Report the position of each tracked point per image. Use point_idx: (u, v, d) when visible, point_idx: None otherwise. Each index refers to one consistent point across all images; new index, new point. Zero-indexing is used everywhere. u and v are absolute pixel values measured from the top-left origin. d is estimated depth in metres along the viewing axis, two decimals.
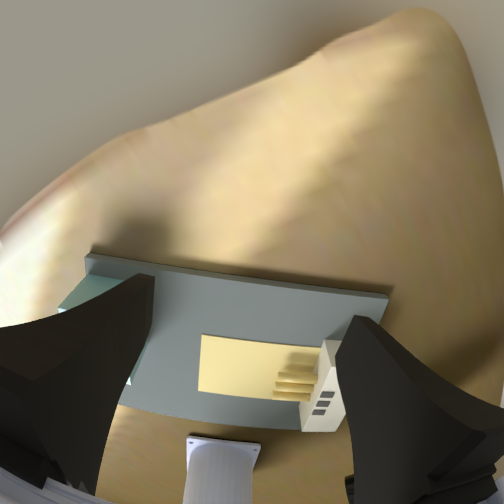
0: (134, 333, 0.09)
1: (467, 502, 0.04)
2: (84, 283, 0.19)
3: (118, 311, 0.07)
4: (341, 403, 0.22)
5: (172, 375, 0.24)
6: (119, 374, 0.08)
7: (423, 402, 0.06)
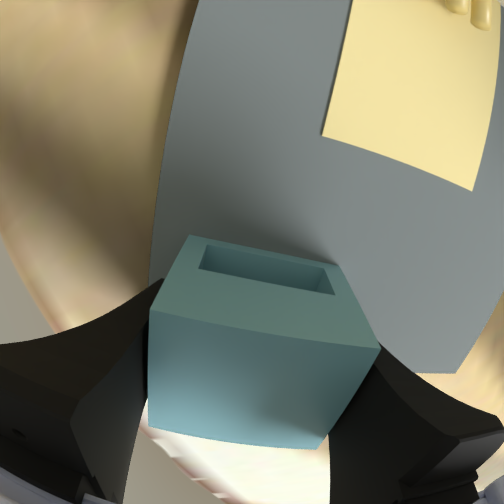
0: None
1: None
2: None
3: (148, 319, 0.07)
4: None
5: (428, 235, 0.11)
6: (145, 381, 0.08)
7: (396, 403, 0.06)
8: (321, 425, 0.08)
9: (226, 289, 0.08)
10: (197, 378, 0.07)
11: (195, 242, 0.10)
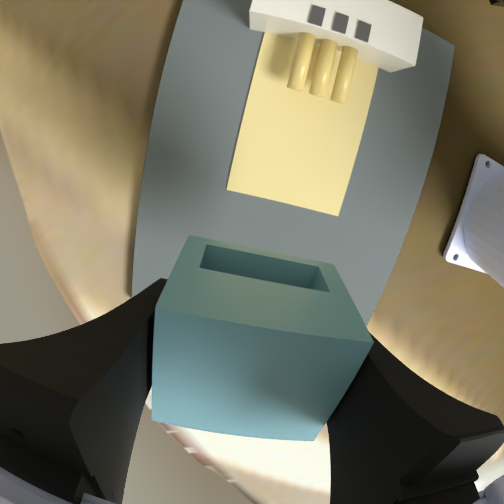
0: None
1: None
2: None
3: (148, 319, 0.07)
4: None
5: (304, 246, 0.18)
6: (145, 381, 0.08)
7: (397, 402, 0.06)
8: (318, 416, 0.09)
9: (226, 287, 0.08)
10: (200, 372, 0.08)
11: (195, 241, 0.11)
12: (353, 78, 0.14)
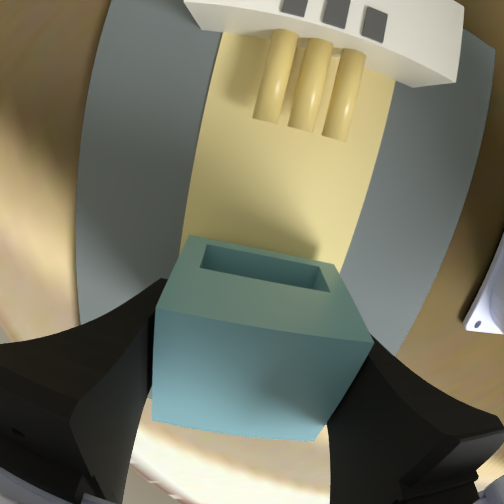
0: None
1: None
2: None
3: (148, 319, 0.07)
4: None
5: None
6: (145, 381, 0.08)
7: (396, 403, 0.06)
8: (318, 417, 0.09)
9: (227, 287, 0.08)
10: (200, 372, 0.08)
11: (195, 242, 0.11)
12: (358, 97, 0.10)
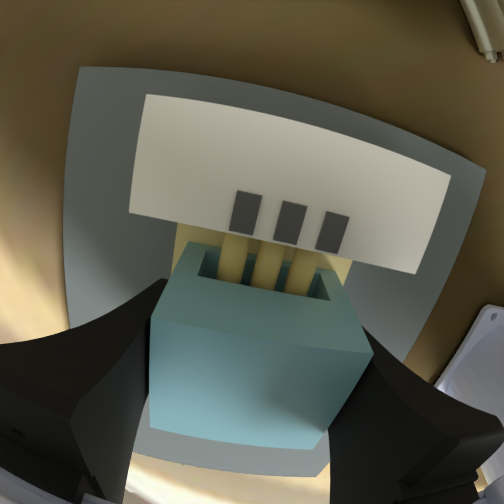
0: None
1: None
2: None
3: (148, 319, 0.07)
4: (305, 161, 0.07)
5: None
6: (145, 381, 0.08)
7: (396, 403, 0.06)
8: (317, 426, 0.08)
9: (224, 296, 0.08)
10: (197, 381, 0.08)
11: (194, 249, 0.11)
12: (320, 256, 0.11)
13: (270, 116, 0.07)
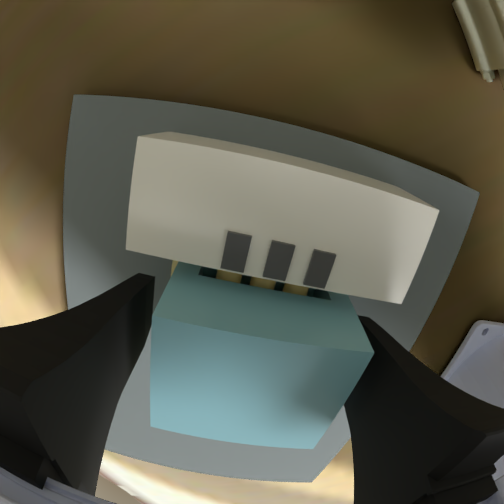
0: (134, 333, 0.09)
1: (467, 501, 0.04)
2: None
3: (118, 311, 0.07)
4: (293, 202, 0.07)
5: None
6: (119, 374, 0.08)
7: (423, 402, 0.06)
8: (317, 425, 0.08)
9: (225, 295, 0.08)
10: (197, 380, 0.08)
11: None
12: None
13: (259, 159, 0.07)
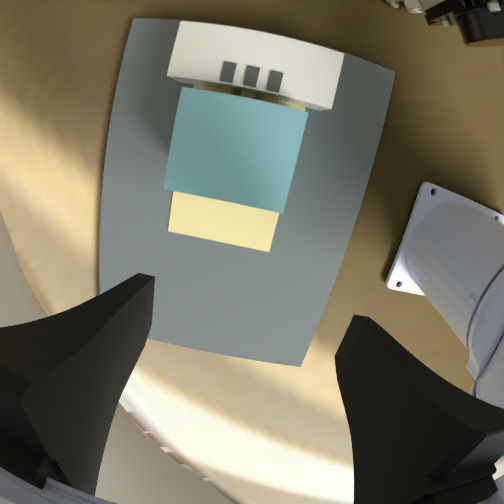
0: (134, 333, 0.09)
1: (467, 502, 0.04)
2: None
3: (118, 311, 0.07)
4: (258, 47, 0.12)
5: (240, 278, 0.20)
6: (119, 374, 0.08)
7: (423, 402, 0.06)
8: (282, 180, 0.13)
9: None
10: (202, 132, 0.12)
11: None
12: None
13: (240, 28, 0.12)
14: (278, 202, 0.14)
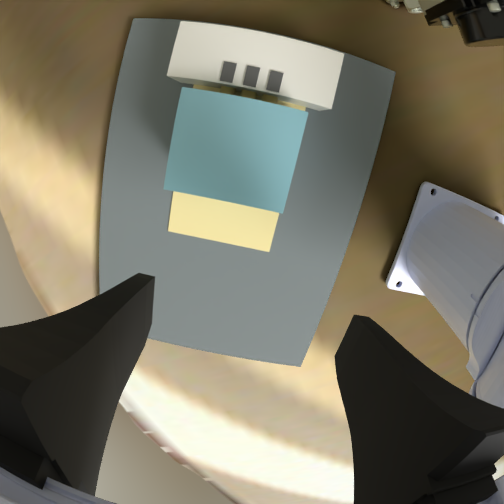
0: (134, 333, 0.09)
1: (467, 502, 0.04)
2: None
3: (118, 311, 0.07)
4: (258, 47, 0.12)
5: (240, 278, 0.20)
6: (119, 374, 0.08)
7: (423, 402, 0.06)
8: (282, 180, 0.13)
9: None
10: (202, 132, 0.12)
11: None
12: None
13: (240, 28, 0.12)
14: (278, 202, 0.14)
